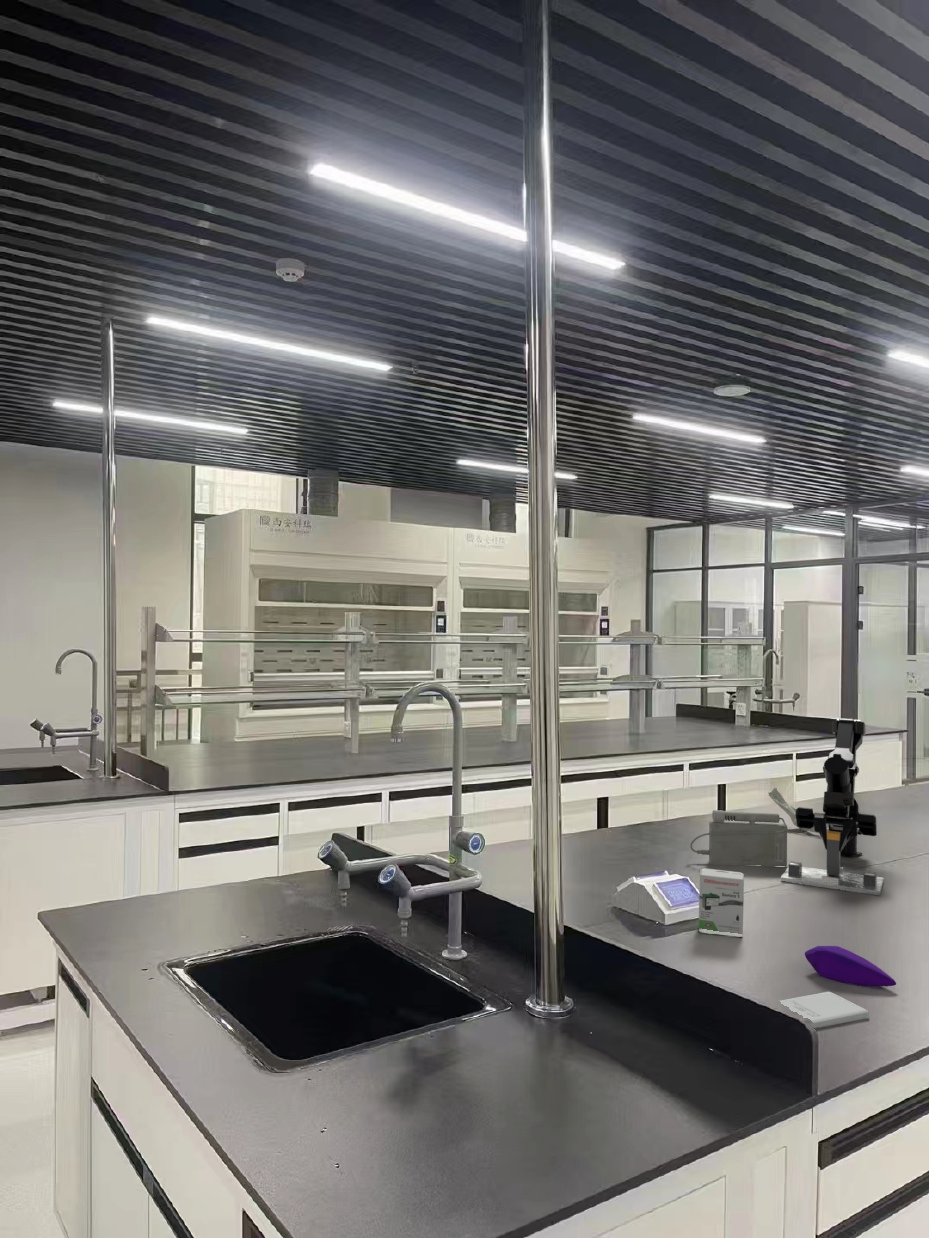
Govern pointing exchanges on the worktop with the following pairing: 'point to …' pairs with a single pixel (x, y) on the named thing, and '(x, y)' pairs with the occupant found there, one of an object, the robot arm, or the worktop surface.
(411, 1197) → the worktop surface
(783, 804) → the skeletal model
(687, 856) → the worktop surface
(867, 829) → the robot arm
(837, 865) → the lever
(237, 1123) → the worktop surface
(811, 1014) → the external hard drive
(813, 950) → the purple teardrop shape
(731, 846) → the geiger counter
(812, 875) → the breaker panel
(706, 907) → the ink box
